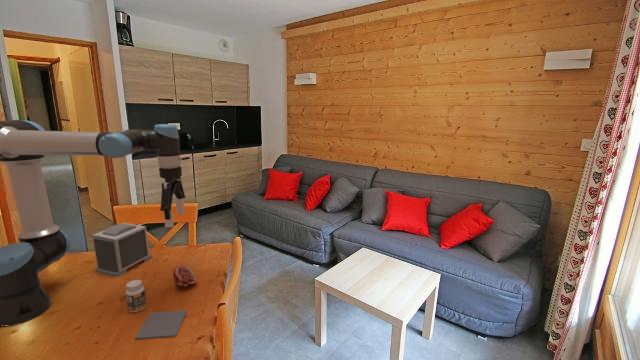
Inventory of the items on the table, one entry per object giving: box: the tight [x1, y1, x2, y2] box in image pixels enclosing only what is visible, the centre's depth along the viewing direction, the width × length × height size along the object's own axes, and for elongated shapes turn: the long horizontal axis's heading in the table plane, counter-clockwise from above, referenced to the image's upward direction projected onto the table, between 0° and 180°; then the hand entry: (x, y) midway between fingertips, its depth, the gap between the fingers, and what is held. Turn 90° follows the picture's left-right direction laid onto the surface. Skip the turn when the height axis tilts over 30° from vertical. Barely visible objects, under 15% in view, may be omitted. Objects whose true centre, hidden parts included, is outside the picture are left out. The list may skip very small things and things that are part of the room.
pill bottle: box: [125, 279, 147, 313], centre depth 107 cm, size 6×6×10 cm
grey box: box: [92, 222, 153, 278], centre depth 136 cm, size 18×13×18 cm
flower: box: [172, 264, 198, 289], centre depth 122 cm, size 10×9×8 cm
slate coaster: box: [134, 309, 188, 341], centre depth 100 cm, size 12×12×1 cm
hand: (175, 220), depth 118 cm, fingers open, 13 cm apart
